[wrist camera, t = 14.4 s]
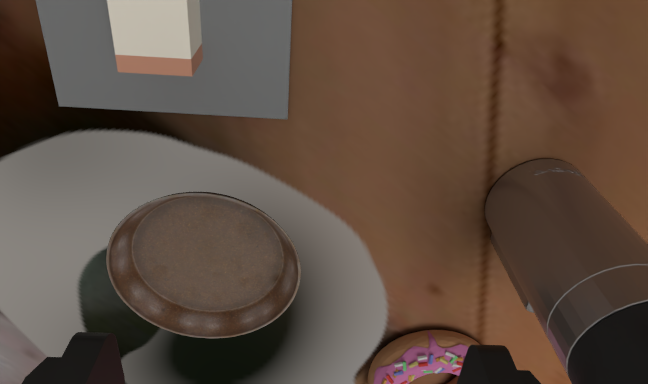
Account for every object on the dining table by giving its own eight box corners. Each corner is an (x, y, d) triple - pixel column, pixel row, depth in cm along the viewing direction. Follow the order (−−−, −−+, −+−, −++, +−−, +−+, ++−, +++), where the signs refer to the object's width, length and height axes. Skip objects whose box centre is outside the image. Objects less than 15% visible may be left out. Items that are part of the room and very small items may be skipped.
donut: (476, 401, 62) (489, 439, 57) (362, 403, 61) (366, 442, 57) (499, 319, 54) (516, 356, 50) (369, 320, 54) (375, 358, 49)
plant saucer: (335, 269, 50) (337, 291, 47) (202, 340, 55) (197, 363, 52) (220, 139, 42) (215, 156, 39) (76, 236, 47) (63, 257, 44)
